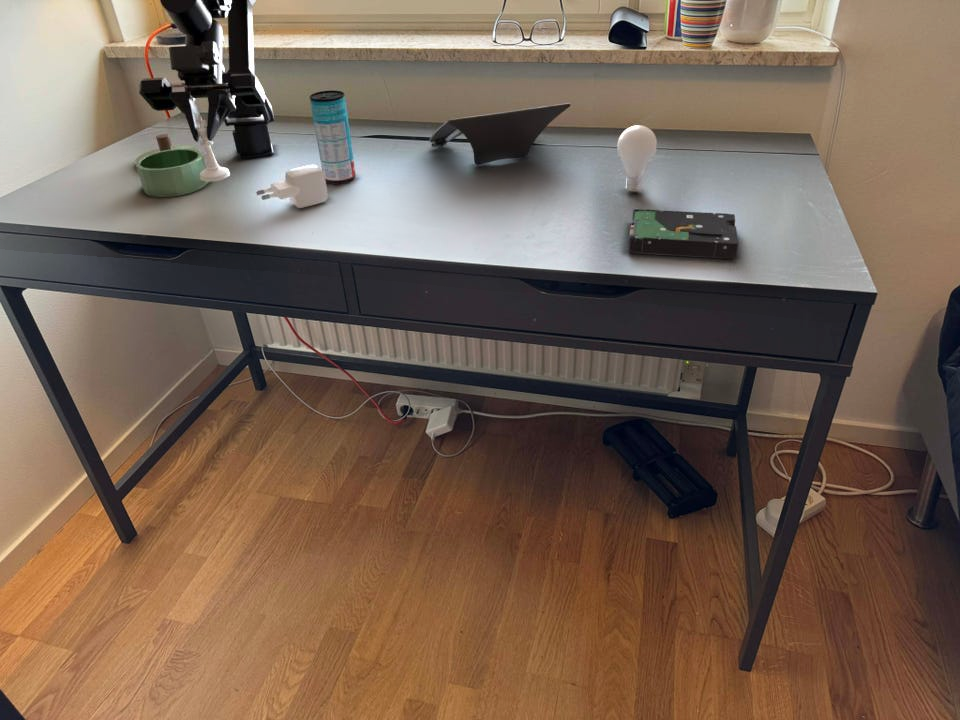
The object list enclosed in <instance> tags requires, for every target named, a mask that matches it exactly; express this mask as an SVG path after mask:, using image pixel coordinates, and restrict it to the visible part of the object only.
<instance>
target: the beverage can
mask: <svg viewBox="0 0 960 720" xmlns="http://www.w3.org/2000/svg"><path fill="white" fill-rule="evenodd" d="M309 100H310V101H309V102H310V108H311V114H312V119H313V126H314V132H315V137H316V142H317V149H318V156H319V160H320V165H321V166H320V167H321V169H322V171H323V172H324V176H325V182H326V183H329V184H332V185H341V184H347V183H349V182H351V181H353V180H354V179H355V178H356V173H357V172H356V165H355V160H354V152H353V145H352V137H351V131H350V124H349V116H348V110H347V109H348V108H347V104H346V98H345V93H344V91H342V90H322V91H317V92H314V93H312V94H310V95H309Z"/></svg>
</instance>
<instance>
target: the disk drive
mask: <svg viewBox="0 0 960 720" xmlns="http://www.w3.org/2000/svg"><path fill="white" fill-rule="evenodd" d="M630 221H631V222H630V229H629V236H628V246H627V251H628V252H629V253H630V252H631V253H633V254H648V255H661V256H678V257H691V258H692V257H694V258H709V259H710V258H711V259H736V257H737V253H738V246H739V240H738V232H737V226H736V216H735V213H734V214H733V213H723V212H722V213H721V212H715V213H714V212H700V211H682V210H681V211H680V210H665V209H664V210H660V209H649V208H648V209H642V208H633V210H632V215H631V220H630Z"/></svg>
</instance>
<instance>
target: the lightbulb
mask: <svg viewBox="0 0 960 720" xmlns="http://www.w3.org/2000/svg"><path fill="white" fill-rule="evenodd" d="M657 150H658V140H657V137H656V134H655V133H654V132H653V130H652V129H651V128H649V127H648V126H646V125H642V124H641V125H639V124H637V125H632V126H629V127H628V128H626V129H624V131H623V132H622V133H621V134H620V136H619V137H618V140H617V144H616V151H617V154H618V157H619V158H620V160H621V162H622V163H623V166H624V172H625V177H626V179H625V190H627V191H628V192H630V193H637V192H639V191H641V190H642V189H643V188H642V187H643V177H644V174H645V172H646V169H647V166H648V164H649V163H650V162H651V160H652V159H653V158H654V157H655V155H656V152H657Z"/></svg>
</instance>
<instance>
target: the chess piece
mask: <svg viewBox="0 0 960 720" xmlns="http://www.w3.org/2000/svg"><path fill="white" fill-rule="evenodd" d="M198 119H199V120H196V121H195V123H196V124H200V127H199V128H197V132H198V134H199V135H200V136H199V138H200V139H201V140H202V141H200V142H199V145H200V146H201V147H203V148H204V152H205V159H206V160H205V161H206V169H205V170H203V171H202V172H201V173H200V179H201V180H203V181H208V183H210V182H218V181H223V180H225V179H227V178H229V177H230V176H231V172H230V170H229V168H227V167H225V166H221V165H220V164H218V162H217V159H216V156H215V154H214V152H213V149H212V145H214V141H213V140H212V141H209V140H208V138H207V125H206V126H205V125H204V124H207V119H203V117H202V115H200V116H198Z"/></svg>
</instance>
